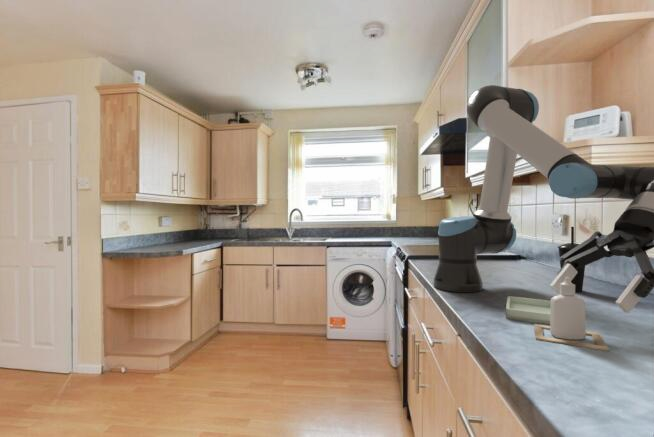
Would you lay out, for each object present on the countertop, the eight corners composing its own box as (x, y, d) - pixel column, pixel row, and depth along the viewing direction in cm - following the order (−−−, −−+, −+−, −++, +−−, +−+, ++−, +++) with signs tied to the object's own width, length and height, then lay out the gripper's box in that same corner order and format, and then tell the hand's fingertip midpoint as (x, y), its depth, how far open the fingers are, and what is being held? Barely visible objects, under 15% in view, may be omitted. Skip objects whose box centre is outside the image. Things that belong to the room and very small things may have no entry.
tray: (505, 318, 75) (505, 308, 75) (507, 304, 87) (507, 296, 87) (558, 325, 70) (558, 315, 70) (552, 309, 81) (552, 300, 81)
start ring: (535, 339, 63) (535, 337, 63) (534, 325, 71) (534, 323, 71) (608, 351, 58) (608, 349, 58) (598, 334, 65) (598, 332, 65)
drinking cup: (593, 294, 96) (593, 227, 95) (562, 292, 98) (562, 227, 98) (581, 288, 103) (581, 226, 103) (553, 286, 105) (553, 226, 105)
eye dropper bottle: (551, 330, 68) (551, 274, 67) (585, 336, 64) (585, 277, 64) (549, 337, 64) (549, 277, 64) (585, 343, 61) (585, 280, 61)
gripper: (745, 236, 54) (674, 333, 51) (596, 229, 78) (543, 294, 76) (720, 205, 53) (646, 302, 50) (577, 208, 77) (523, 273, 75)
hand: (584, 298), depth 63 cm, fingers open, 13 cm apart
